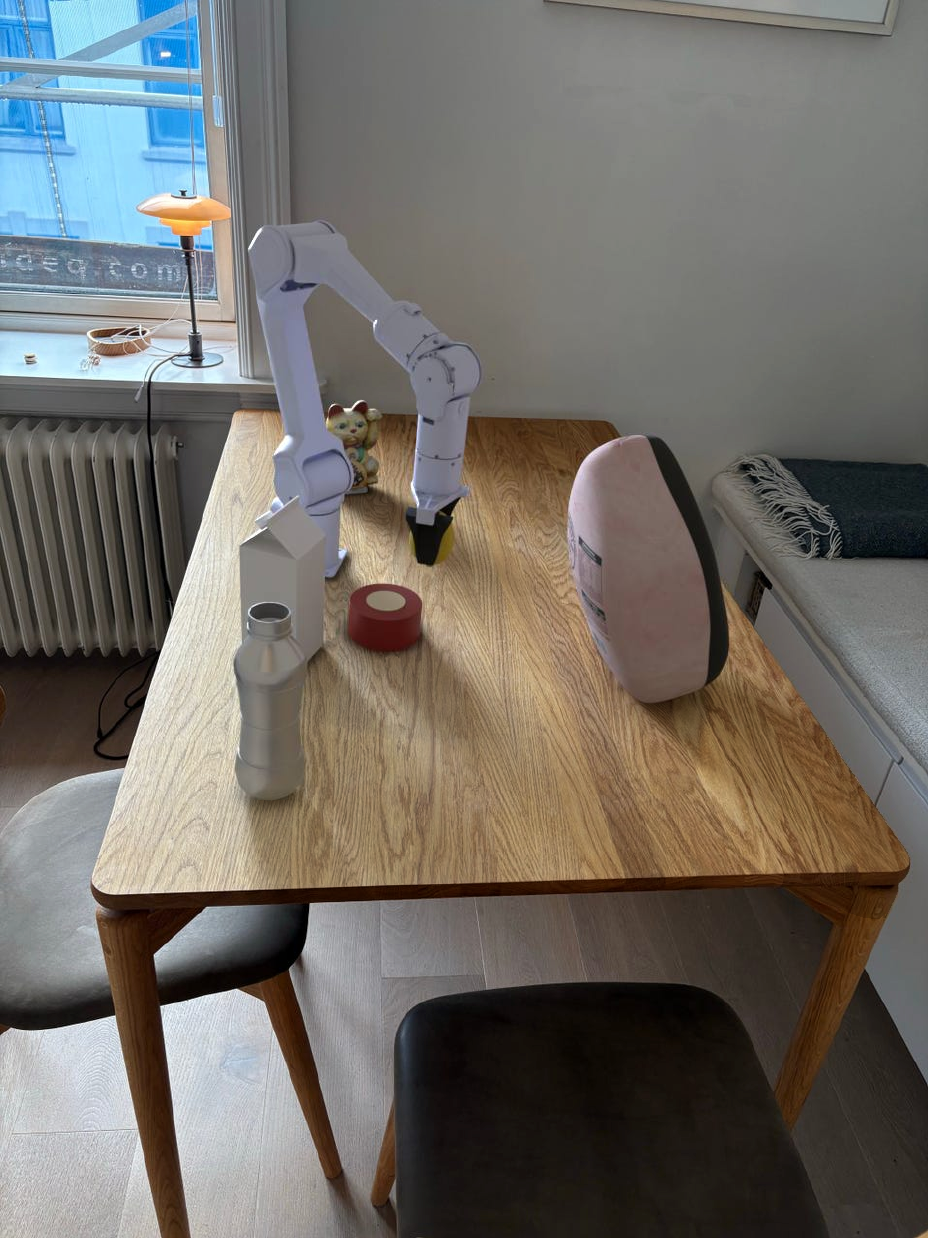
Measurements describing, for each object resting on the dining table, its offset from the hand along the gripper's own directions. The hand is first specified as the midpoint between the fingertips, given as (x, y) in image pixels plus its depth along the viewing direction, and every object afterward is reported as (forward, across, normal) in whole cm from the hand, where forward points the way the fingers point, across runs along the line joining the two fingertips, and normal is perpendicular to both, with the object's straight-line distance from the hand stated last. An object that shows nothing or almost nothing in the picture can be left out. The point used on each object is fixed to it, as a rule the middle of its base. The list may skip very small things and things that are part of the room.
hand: (430, 552), depth 119 cm
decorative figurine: (+10, +36, +20) cm, 43 cm away
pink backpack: (+9, -5, -26) cm, 28 cm away
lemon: (+2, 0, 0) cm, 2 cm away
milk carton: (+10, -14, +15) cm, 22 cm away
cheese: (+9, -5, +4) cm, 12 cm away
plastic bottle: (+9, -36, +8) cm, 39 cm away
